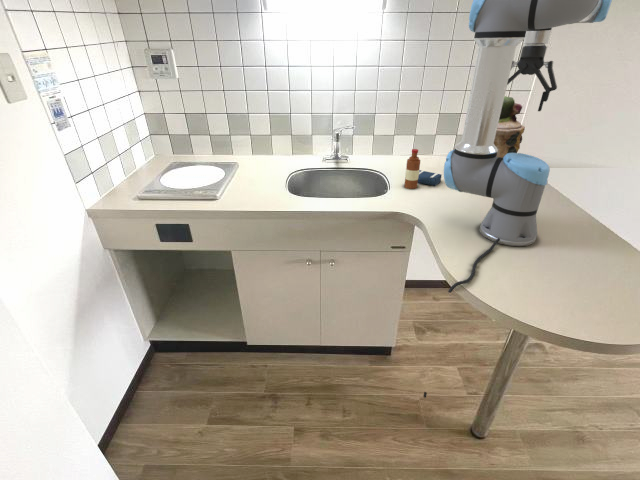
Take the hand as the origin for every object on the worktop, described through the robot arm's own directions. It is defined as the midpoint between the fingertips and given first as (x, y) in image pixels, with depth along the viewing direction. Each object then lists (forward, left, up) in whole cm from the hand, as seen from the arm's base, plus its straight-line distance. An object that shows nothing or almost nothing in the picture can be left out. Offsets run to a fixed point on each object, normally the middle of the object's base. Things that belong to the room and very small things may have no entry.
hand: (519, 109), depth 132 cm
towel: (-21, +24, -28) cm, 42 cm away
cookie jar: (+6, +6, -28) cm, 29 cm away
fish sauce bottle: (-30, +27, -28) cm, 49 cm away
